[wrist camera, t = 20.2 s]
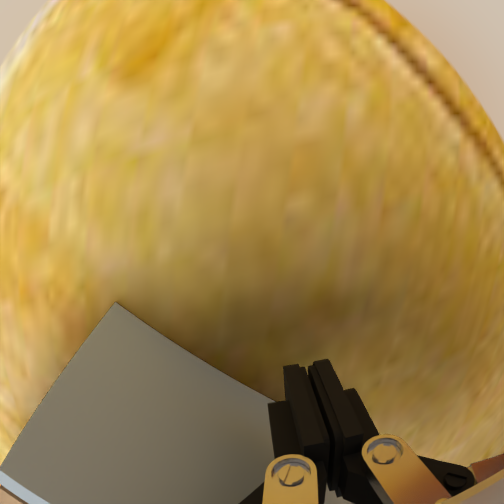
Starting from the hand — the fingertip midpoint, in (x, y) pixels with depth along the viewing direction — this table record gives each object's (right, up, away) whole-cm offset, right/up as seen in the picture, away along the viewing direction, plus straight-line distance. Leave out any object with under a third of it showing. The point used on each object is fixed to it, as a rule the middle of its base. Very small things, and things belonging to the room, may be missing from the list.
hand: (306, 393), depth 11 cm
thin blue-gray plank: (-3, -1, +3) cm, 5 cm away
